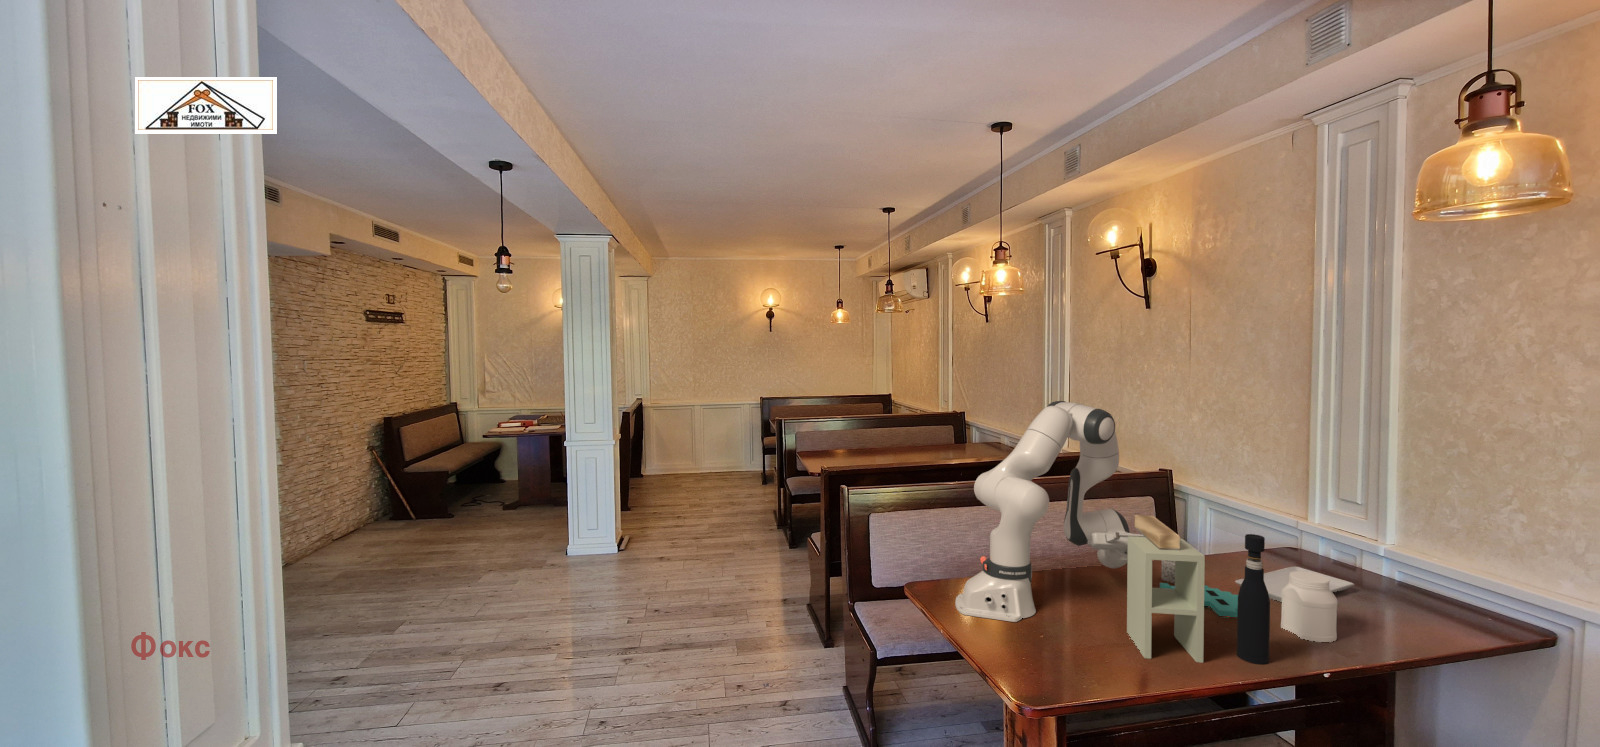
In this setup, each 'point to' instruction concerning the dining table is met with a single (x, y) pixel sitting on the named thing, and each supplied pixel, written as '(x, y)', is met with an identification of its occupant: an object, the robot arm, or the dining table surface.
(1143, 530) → the block
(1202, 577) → the shelf stand
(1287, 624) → the jar
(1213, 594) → the alien figure
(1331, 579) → the tray
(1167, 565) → the grey speckled cup
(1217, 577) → the dining table surface
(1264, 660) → the wine bottle
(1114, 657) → the dining table surface
